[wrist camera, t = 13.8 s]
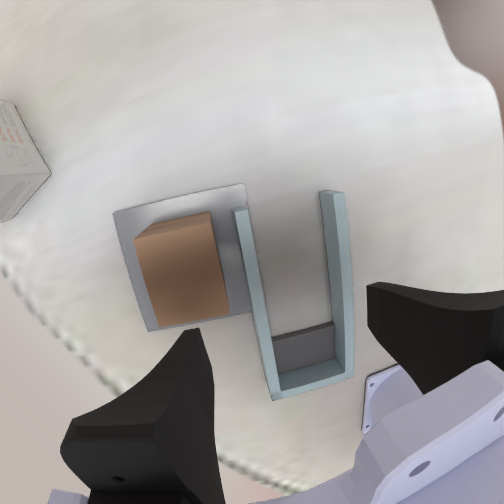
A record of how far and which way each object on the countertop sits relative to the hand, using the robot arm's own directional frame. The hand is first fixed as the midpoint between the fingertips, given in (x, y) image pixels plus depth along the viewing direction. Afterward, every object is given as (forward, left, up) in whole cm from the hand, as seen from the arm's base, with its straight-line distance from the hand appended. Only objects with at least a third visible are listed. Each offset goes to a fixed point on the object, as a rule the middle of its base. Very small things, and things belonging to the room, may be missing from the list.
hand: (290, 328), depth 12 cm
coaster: (+1, +4, -10) cm, 11 cm away
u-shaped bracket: (-3, -3, -10) cm, 11 cm away
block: (+2, +4, -9) cm, 10 cm away
